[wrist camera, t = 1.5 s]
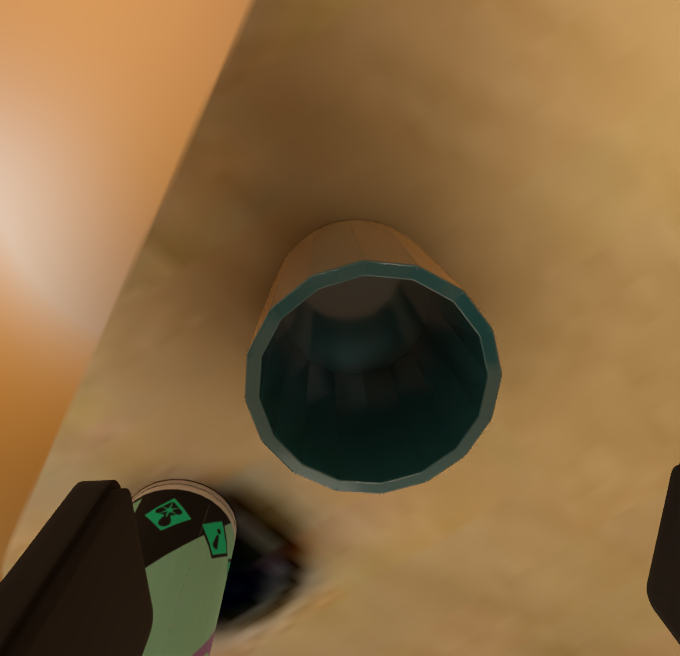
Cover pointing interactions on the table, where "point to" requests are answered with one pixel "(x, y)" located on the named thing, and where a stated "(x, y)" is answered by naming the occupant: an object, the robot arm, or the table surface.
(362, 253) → the cup
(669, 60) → the table surface
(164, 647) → the spray can
